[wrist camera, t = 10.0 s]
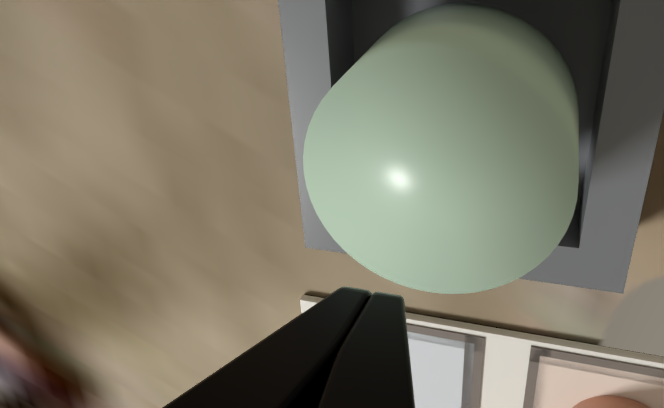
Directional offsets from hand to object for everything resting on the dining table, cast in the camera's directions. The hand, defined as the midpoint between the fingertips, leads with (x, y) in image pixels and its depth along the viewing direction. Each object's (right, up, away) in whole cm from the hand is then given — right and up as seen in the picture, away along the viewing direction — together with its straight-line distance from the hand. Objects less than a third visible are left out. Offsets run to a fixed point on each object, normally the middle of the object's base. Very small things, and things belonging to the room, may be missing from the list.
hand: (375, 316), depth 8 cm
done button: (+2, +3, +5) cm, 7 cm away
